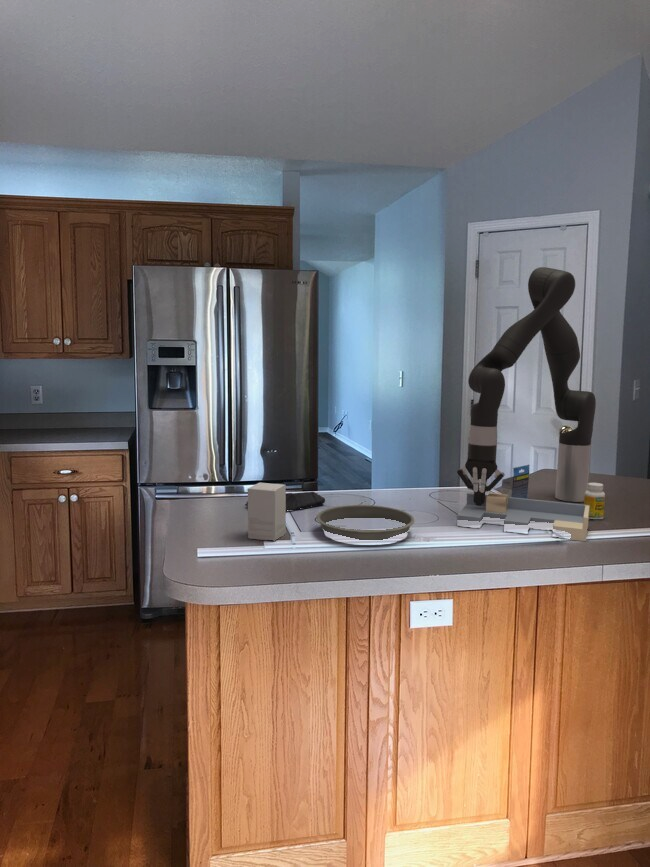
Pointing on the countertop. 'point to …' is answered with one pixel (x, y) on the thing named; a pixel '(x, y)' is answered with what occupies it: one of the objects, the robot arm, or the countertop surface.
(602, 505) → the supplement bottle
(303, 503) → the dark slate chunk
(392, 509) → the cake pan
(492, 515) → the tray
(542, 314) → the robot arm
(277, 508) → the supplement box
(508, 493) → the label tape box
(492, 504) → the maple block
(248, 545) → the countertop surface
